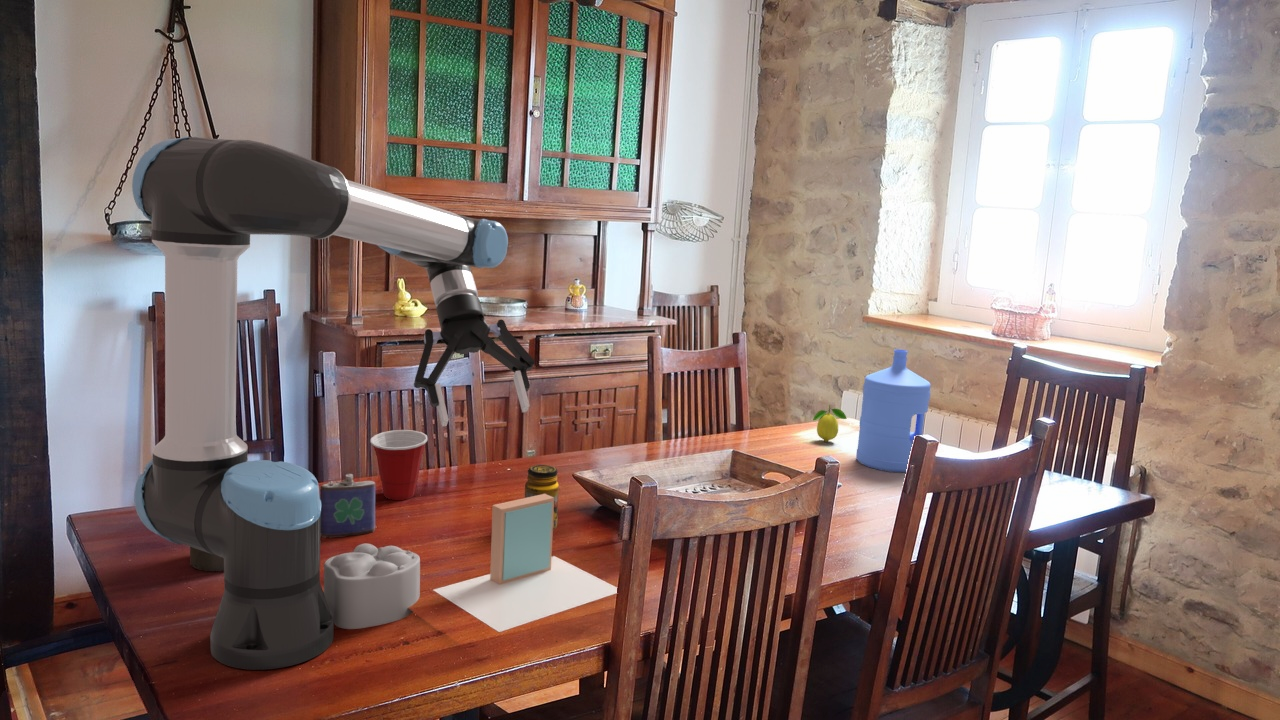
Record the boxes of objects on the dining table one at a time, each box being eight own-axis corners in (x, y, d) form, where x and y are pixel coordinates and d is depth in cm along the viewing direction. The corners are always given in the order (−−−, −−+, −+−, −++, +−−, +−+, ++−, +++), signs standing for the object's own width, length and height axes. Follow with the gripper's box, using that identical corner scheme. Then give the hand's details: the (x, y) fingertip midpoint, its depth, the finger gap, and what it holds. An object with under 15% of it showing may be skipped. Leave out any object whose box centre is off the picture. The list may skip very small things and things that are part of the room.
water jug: (862, 470, 223) (874, 353, 218) (850, 453, 238) (861, 343, 233) (929, 475, 222) (942, 358, 217) (912, 457, 238) (925, 347, 233)
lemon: (844, 444, 247) (848, 406, 245) (827, 446, 243) (831, 408, 242) (826, 437, 252) (830, 401, 250) (809, 439, 249) (813, 402, 247)
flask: (373, 527, 168) (374, 469, 166) (376, 533, 165) (377, 474, 163) (319, 533, 164) (319, 473, 162) (321, 539, 161) (321, 479, 159)
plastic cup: (358, 499, 182) (358, 439, 180) (389, 484, 192) (390, 427, 190) (407, 508, 179) (408, 447, 177) (437, 492, 189) (438, 434, 187)
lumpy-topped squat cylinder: (318, 604, 137) (318, 547, 135) (404, 587, 144) (405, 533, 143) (341, 633, 129) (342, 573, 127) (431, 613, 136) (433, 556, 135)
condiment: (565, 536, 170) (568, 471, 168) (523, 543, 165) (525, 477, 163) (546, 523, 176) (549, 460, 173) (505, 529, 171) (507, 465, 169)
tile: (500, 585, 144) (502, 509, 142) (490, 579, 146) (492, 505, 144) (551, 570, 151) (555, 498, 149) (541, 564, 153) (544, 493, 151)
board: (498, 640, 129) (499, 632, 129) (432, 597, 141) (432, 589, 141) (622, 598, 145) (623, 590, 145) (553, 562, 157) (554, 556, 157)
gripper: (522, 303, 170) (553, 411, 163) (382, 322, 161) (407, 437, 153) (531, 283, 164) (563, 394, 157) (385, 301, 154) (412, 420, 147)
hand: (486, 416), depth 155 cm, fingers open, 13 cm apart
